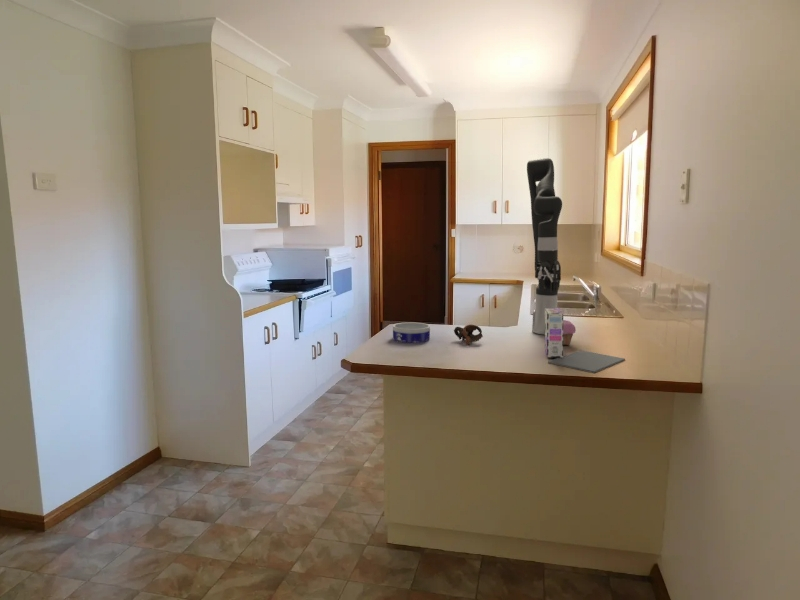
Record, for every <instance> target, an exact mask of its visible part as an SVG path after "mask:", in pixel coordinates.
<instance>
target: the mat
mask: <svg viewBox="0 0 800 600" xmlns="http://www.w3.org/2000/svg"><path fill="white" fill-rule="evenodd" d="M624 361H626V358H624V357H618V356H615V355H614V356H613V355H609V354H608V355H607V354H603V353H597V352H594V351H593V352H592V351H587V350H583V349H582V350H581V349H580V350H578V351H574V352H572V353H568V354H565V355H563V358H556V357H555V358H554V359H551V360H548V361H547V363H548V364H550V365H556V366H561V367H566V368H569V369H575V370H578V369H579V371H583V370H584V372H588V373H592V374H595V372H596V373H598V372H600V371H602V370H604V369H605V370H606V369H608V368H610V367H611V366H615V365H617V364H619V363H621V362H624Z"/></svg>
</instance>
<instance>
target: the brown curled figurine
mask: <svg viewBox="0 0 800 600" xmlns="http://www.w3.org/2000/svg"><path fill="white" fill-rule="evenodd" d="M476 330H477V331H478V332H479V333H478V334H473V333H474V331H476ZM453 333H454V335H455V336H456V337H457V338H458V340H460V341H461V339H462V341H464V344H466V345H468V346H469V344H470V343H475V342H479V341H480V340H481V339H482V338H483V337H484V336H483V332H482V329H481V328H480V327H479V326H478V325H475V324H467V325H465V326H464V327H463V328H462V327H461V326H456V327H455V328H454V329H453Z"/></svg>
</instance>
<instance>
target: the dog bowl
mask: <svg viewBox="0 0 800 600" xmlns="http://www.w3.org/2000/svg"><path fill="white" fill-rule="evenodd" d="M430 332H431V325H430V324H428V323H423V322H414V321H413V322H411V321H410V322H399V323H394V324H393V325H392V339H393V341H394V342H397V343H402V344H423V343H427V342H429V341H430V339H431V338H430V336H431V335H430Z"/></svg>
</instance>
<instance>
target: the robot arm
mask: <svg viewBox="0 0 800 600" xmlns="http://www.w3.org/2000/svg"><path fill="white" fill-rule="evenodd" d="M526 175H527V182H528V191H529V197H530V209H531V225H532V233H533V243H534V278H535V279H537V281H538V284H537V286H536V288H535V306H534V307H535V308H534V310H533V311H532V324H531V326H532V327H531V332H532V333H535V334H538V335H544V336H545V309H546V308H558V295H559V294H558V293H559V290H560V283H561V280H562V276H561V273H562V272H561V271H562V269H561V263H560V261H559V260H558V259H559V258H558V257H559V256H558V254H559V251H558V249H559V245H558V244H559V243H558V242H559V241H558V223H559V218H560V215H561V211H562V208H563V201H562V199H561V197H559V196H557V195H556V191H555V186H554V184H555V167H554V162H553V159H551V158H549V157H546V158H539V159H531V160H528V161H527V164H526ZM537 182H538V183H537Z"/></svg>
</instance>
